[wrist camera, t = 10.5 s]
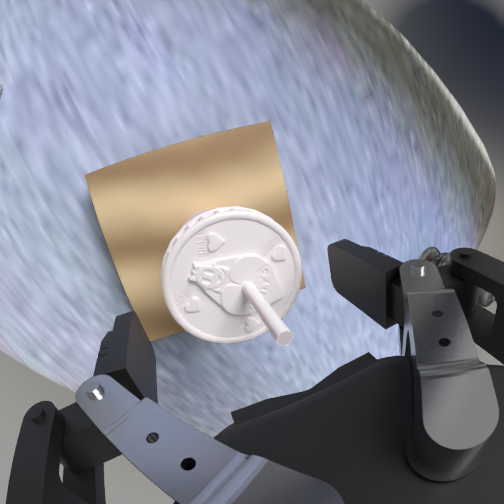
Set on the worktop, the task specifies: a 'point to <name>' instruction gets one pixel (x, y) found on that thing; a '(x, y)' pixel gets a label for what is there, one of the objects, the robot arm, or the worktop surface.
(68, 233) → the worktop surface
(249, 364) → the worktop surface
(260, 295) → the smoothie
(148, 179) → the tan wavy panel
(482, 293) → the salt shaker
